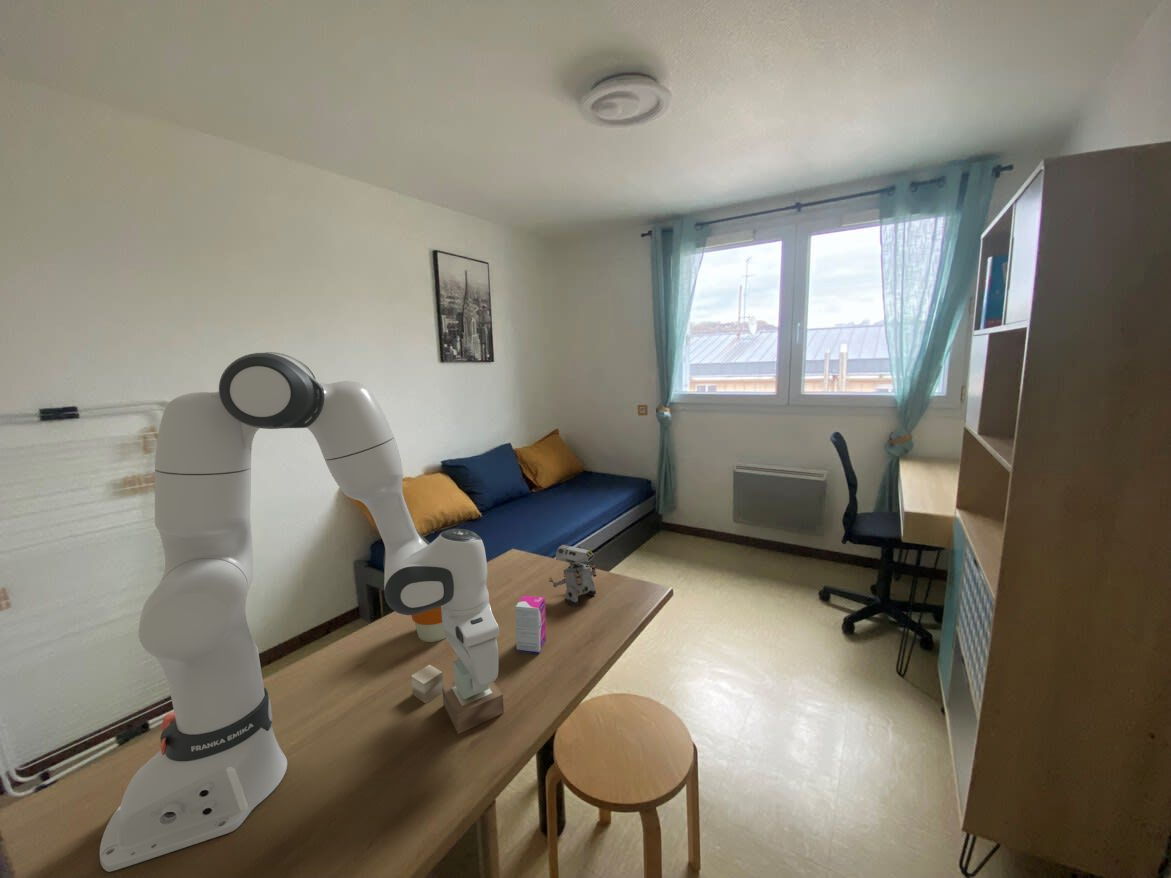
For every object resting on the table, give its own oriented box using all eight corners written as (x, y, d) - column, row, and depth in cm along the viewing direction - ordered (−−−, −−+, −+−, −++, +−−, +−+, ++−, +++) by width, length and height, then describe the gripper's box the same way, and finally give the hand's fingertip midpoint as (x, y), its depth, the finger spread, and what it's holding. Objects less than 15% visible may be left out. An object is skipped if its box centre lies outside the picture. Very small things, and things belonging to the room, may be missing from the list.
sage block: (463, 699, 88) (461, 675, 87) (455, 684, 92) (453, 661, 91) (488, 689, 90) (487, 665, 89) (479, 675, 94) (477, 652, 94)
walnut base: (458, 733, 86) (456, 713, 85) (443, 705, 93) (442, 686, 92) (503, 712, 90) (502, 693, 90) (486, 687, 98) (485, 669, 97)
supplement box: (540, 654, 108) (538, 608, 107) (516, 652, 110) (513, 606, 108) (547, 640, 114) (545, 596, 112) (524, 637, 115) (521, 594, 113)
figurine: (570, 585, 142) (568, 538, 140) (600, 596, 135) (598, 547, 132) (549, 597, 135) (547, 548, 133) (579, 609, 128) (578, 557, 125)
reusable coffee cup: (442, 649, 111) (437, 591, 109) (399, 641, 115) (393, 584, 113) (471, 622, 123) (467, 568, 121) (431, 615, 127) (427, 563, 125)
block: (425, 703, 94) (423, 683, 93) (412, 695, 96) (410, 675, 96) (443, 691, 97) (442, 672, 96) (431, 683, 100) (429, 664, 99)
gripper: (433, 596, 95) (438, 658, 98) (468, 644, 78) (473, 717, 81) (463, 587, 99) (468, 647, 101) (503, 631, 82) (507, 702, 84)
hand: (470, 679), depth 91 cm, fingers closed on sage block, 5 cm apart
